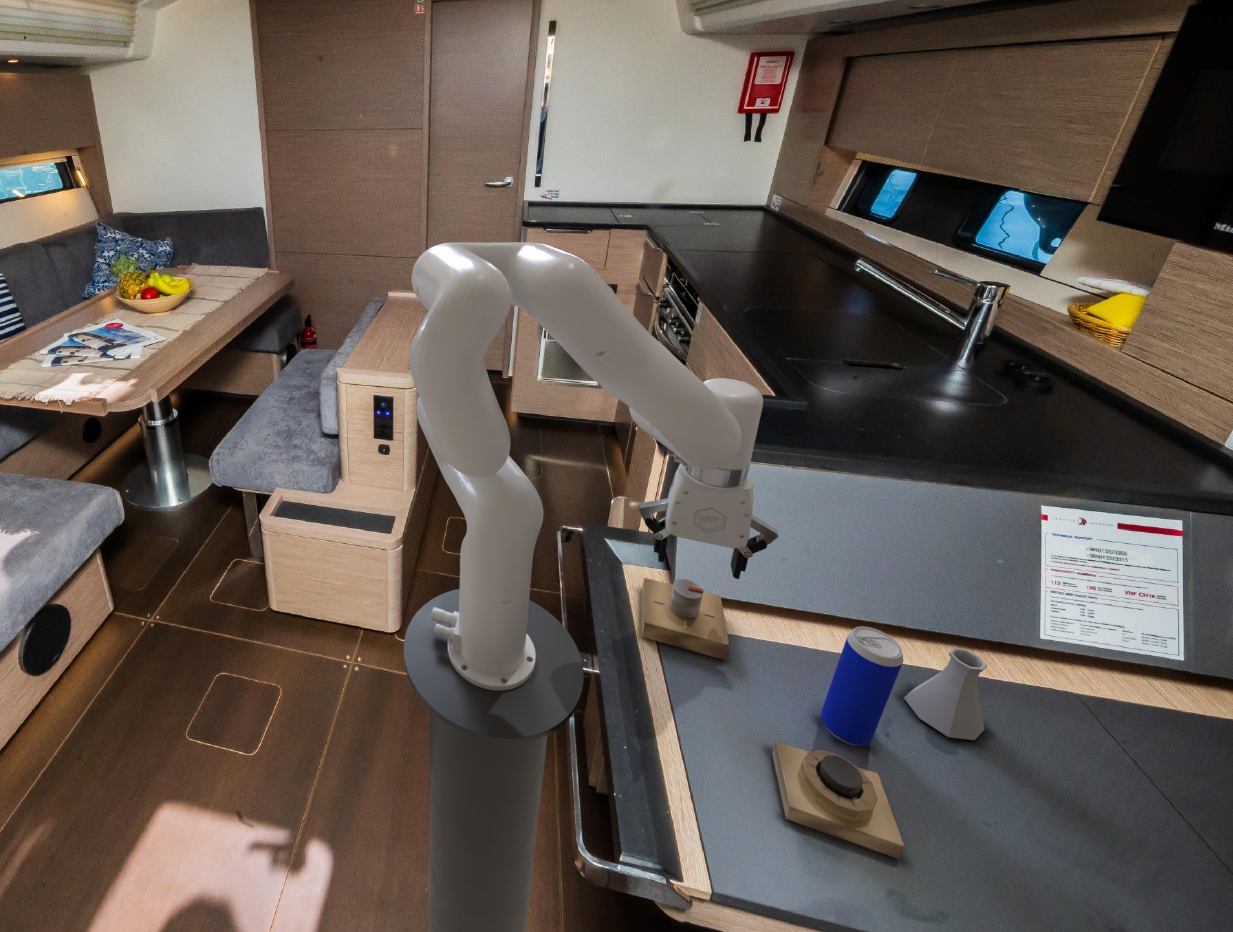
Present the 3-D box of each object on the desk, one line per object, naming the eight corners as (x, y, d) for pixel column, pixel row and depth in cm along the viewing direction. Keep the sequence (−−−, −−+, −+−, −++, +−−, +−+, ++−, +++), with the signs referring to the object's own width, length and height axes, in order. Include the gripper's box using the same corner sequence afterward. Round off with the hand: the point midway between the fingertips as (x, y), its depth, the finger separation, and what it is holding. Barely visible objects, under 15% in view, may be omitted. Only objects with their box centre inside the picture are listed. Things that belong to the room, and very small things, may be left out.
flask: (949, 747, 73) (976, 689, 69) (890, 694, 79) (913, 639, 76) (998, 736, 74) (1028, 679, 70) (936, 685, 80) (960, 630, 77)
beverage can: (856, 714, 77) (889, 628, 72) (879, 753, 72) (916, 664, 67) (811, 707, 78) (840, 621, 73) (831, 744, 74) (863, 656, 68)
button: (823, 790, 66) (826, 780, 65) (814, 760, 69) (818, 750, 68) (863, 804, 64) (867, 793, 64) (853, 772, 67) (857, 762, 67)
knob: (669, 614, 90) (674, 592, 88) (668, 596, 93) (672, 574, 92) (699, 622, 88) (704, 600, 87) (697, 603, 92) (702, 581, 90)
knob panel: (642, 637, 90) (644, 621, 89) (641, 591, 98) (644, 576, 97) (725, 660, 85) (729, 644, 84) (717, 610, 94) (721, 595, 93)
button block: (785, 819, 66) (793, 796, 65) (771, 753, 73) (778, 731, 72) (898, 859, 62) (910, 836, 61) (873, 785, 69) (882, 763, 68)
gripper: (646, 469, 81) (632, 566, 88) (797, 494, 74) (770, 598, 81) (646, 442, 88) (633, 535, 94) (785, 463, 81) (761, 561, 87)
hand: (696, 564), depth 87 cm, fingers open, 9 cm apart
